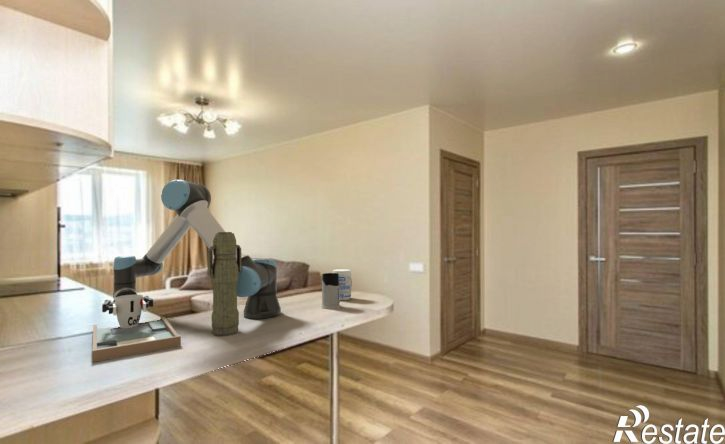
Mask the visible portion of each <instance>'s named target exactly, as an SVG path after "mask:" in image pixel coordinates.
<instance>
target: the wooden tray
mask: <svg viewBox="0 0 725 444" xmlns="http://www.w3.org/2000/svg"><path fill="white" fill-rule="evenodd" d="M92 326H93V327H92V349H91V350H92V351H91V352H92V354H91V357H92V358H91V359H92V361H91V362H92V363H95V362H101V361H104V360H111V359H116V358H122V357H128V356H132V355H133V356H134V355H140V354H144V353H150V352H154V351H160V350H167V349H172V348H179V347H181V345H182V341H181V340H182V339H181V338H182V336H181V335H179V333H177V331H176V330H175V328H174V327H173V326H172V324H171V323H170V322H169V321H168V319H167V318H166V317H165V316H164V315H160V319H159V320H153V321H148V326H149V328H150V329H146V330H140V331H139V330H138V331H132V332H125V333H119V334H112V330H111V329H112V328H111V326H109V327H108V326H107V327H103V328H97V326H98V325H97V324H94V325H92Z"/></svg>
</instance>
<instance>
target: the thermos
mask: <svg viewBox="0 0 725 444" xmlns="http://www.w3.org/2000/svg"><path fill="white" fill-rule="evenodd" d="M236 248H237V262H236ZM212 251H213V253H212ZM241 253H242V247H241V246H240V244H237V238H236V236H235V233H234V232H232V231H225V232H218V233H217V234H215V237H214V240H213V246H212V247H210V248H208V249H207V275H208V276H209V277H210V278H211V284H212V300H213V301H212V308H213V310H212V313H211V328H212V329H211V330H212V332H211V335H212V334H213V336H216V337H226V336H227V337H228V336H231V335H232V336H233V335H235V334H237V333H239V323H240V320H239V319H240V317H239V315H240V313H239V312H240V311H239V309H238V297H237V283H238V275H239V274H240V273H241Z"/></svg>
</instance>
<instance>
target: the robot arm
mask: <svg viewBox="0 0 725 444" xmlns="http://www.w3.org/2000/svg"><path fill="white" fill-rule="evenodd" d="M161 190H162V191H161V194H160V197H161V198H160V199H161V202H162V204H163V206H164V207H165V208H167V210H171V211H174V212H175V213H176V215H175V217H173V219H172V220H171V221H170V223H169V224H168V225H167V227H166V228H165V229H164V230H163V232H162V233H161V234H160V235H159V236H158V238H157V239H156V241H155V242H154V243H153V244H152V246H151V247H150V248H149V249H148V251H147V252H146V253H145V255H144V256H143V257H142V258H140V259H139V258H138V259H137V258H136V256H135V255H120V256H119V255H118V256H116V257H114V259H113V267H112V268H113V293H112V298H113V301H112V300H111V299H104V303H102V304H101V311H102V313H106V312H108V315H113V316H117V315H116V305H115V298H116V297H119V296H125V295H138V293H137V284H136V283H137V278H142V277H147V276H149V277H150V276H154V275H156V274H159V273H160V272H162V270H163V266H164V265H163V264H164V263H163V262H164V261H165V260H166V259H167V258H168V256H169V255H170V254H171V252H173V250H174V249H175V248H176V246H177V245H178V243H179V242H180V241H181V240H182V239H183V237H184V236H185V235H186V234H187V232H188V231H190V228H193V230H194V231H195V233H196V234H197V235H198V236H199V238H200V239H201V240H202V241H203V243H204V244H205V245H206V247H207V248H208V249H209V248H210V247H212V246H213V240H214V237H215V234H217V233H218V232H226V231H225V229H224V228H223V226H222V225H221V224H220V223H219V221H218V220H217V219H216V217H214V215H213V214H212V212H210V210H209V207H210V205H211V204H212V203H211V202H212V195H211V192H210V190H209V188H207V187H206V186H205V185H203V184H201V183H199V182H197V183H196V182H192V181H187V180H185V179H184V180H183V179H173V180H170V181H168V182H167V183H165V185H164V186H163V188H162V189H161ZM212 254H213V251H212ZM236 262H237V248H236ZM277 269H278V267H277V262H276V260H275V259H252V257H251V256H250V255H248V254H244V253H242V252H241V273H240V274H239V275H238V283H237V298H246V297H247V299H246V302H245V306H244V309H243V317H244V318H247V319H252V320H253V319H254V320H255V319H256V320H257V319H259V320H261V319H268V318H269V319H270V318H274V317H278V316H280V315H281V313H282V307H281V306H280V301H279V299H278V296H277V295H278V293H277V292H278V291H277V281H278V280H277V278H278V277H277ZM149 307H150V308H152V307H154V299H153V298H151V297H150V296H149V295H145V296H143V302H142V312H143V313H145V312H146V313H147V309H148V308H149Z"/></svg>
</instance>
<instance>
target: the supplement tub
mask: <svg viewBox="0 0 725 444" xmlns="http://www.w3.org/2000/svg"><path fill="white" fill-rule="evenodd" d="M351 270H352V269H346V268H341V269H340V268H339V269H337V268H336V269H333V270H332V273H338V274H339V285H342V280H343V278H344V277H346V276H347V277H346V278H344V280H343V285H342V286H339V300H340V299H341V298H342V297H343V296H345V295H346V294H347V293H348V291H349V289H350V287H351V289H350V291H349V293H348V294H347V295H346V296H345V297H344V298H342V299H341V300H340V301H348V300H349V301H350V300H351V298H352V286H351V279H352V271H351ZM348 277H350V278H351V279H350V278H348Z"/></svg>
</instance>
